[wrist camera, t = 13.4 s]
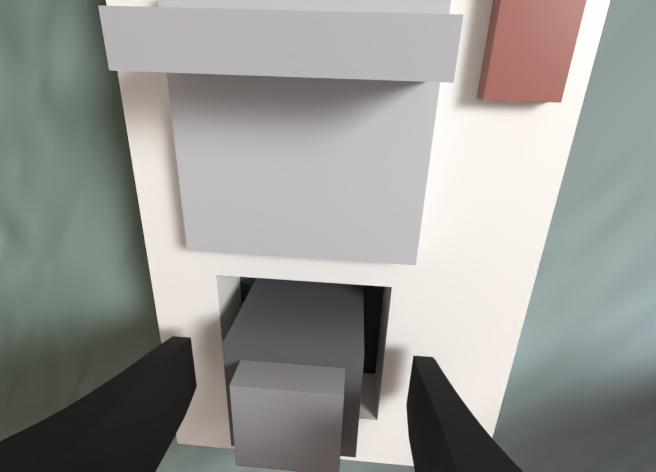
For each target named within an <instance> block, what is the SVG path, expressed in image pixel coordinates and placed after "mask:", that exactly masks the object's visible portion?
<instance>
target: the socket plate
mask: <svg viewBox="0 0 656 472" xmlns="http://www.w3.org/2000/svg"><path fill="white" fill-rule="evenodd" d="M609 3H610V0H451V5H450V12H449V14H463V22H462V29H461V36H460V42H459V49H458V56H457V63H456V70H455V77H454V83H448V82H440V87H439V95H438V102H437V110H436V117H435V125H434V132H433V140H432V147H431V155H430V162H429V170H428V177H427V185H426V192H425V200H424V207H423V215H422V222H421V230H420V237H419V245H418V252H417V260H416V265H404V264H388V263H372V262H357V261H341V260H326V259H310V258H294V257H279V256H263V255H248V254H232V253H216V252H201V251H187V244H186V235H185V227H184V218H183V210H182V201H181V193H180V184H179V176H178V167H177V159H176V150H175V142H174V133H173V125H172V116H171V108H170V99H169V91H168V82H167V74H166V73H165V72H137V71H117V72H118V78H119V84H120V91H121V97H122V103H123V109H124V115H125V122H126V128H127V134H128V140H129V146H130V152H131V159H132V165H133V171H134V177H135V183H136V189H137V196H138V202H139V208H140V214H141V220H142V227H143V233H144V239H145V245H146V251H147V257H148V264H149V270H150V276H151V282H152V288H153V294H154V301H155V307H156V313H157V319H158V325H159V332H160V338H161V344H162V343H163V342H165V341H166V340H168V339H169V338H171V337H172V336H178V337H190V338H191V343H192V351H193V359H194V367H195V375H196V383H197V387H196V390H195V393H194V395H193V398H192V401H191V403H190V406H189V408H188V411H187V413H186V416H185V418H184V420H183V422H182V423H181V425H180V427H179V429H178V431H177V433H176V437H177V443H178V444H188V445H198V446H209V447H219V448H229V449H235V446H231V438H230V427H229V416H228V405H227V394H226V383H225V372H224V361H223V350H222V343H223V341H224V340H225V338H226V336H227V334H228V332H229V330H230V328H231V326H232V324H233V322H234V320H235V318H236V316H237V314H238V312H239V311H240V309H241V307H242V300H241V284H240V277H252V278H267V279H282V280H296V281H311V282H326V283H341V284H355V285H370V286H384V291H383V301H382V311H381V321H380V331H379V341H378V351H377V361H376V371H375V374H370V373H363V377H362V389H361V401H360V413H359V425H358V437H357V449H356V457H345V456H340V459H345V460H355V461H366V462H376V463H387V464H397V465H408V466H414V464H413V458H412V453H411V447H410V442H409V435H408V423H407V409H406V403H407V396H408V389H409V383H410V376H411V369H412V362H413V355H414V356H426V357H433V358H434V359H435V360H436V361H437V363H438V364H439V366H440V368H441V369H442V371H443V372H444V374H445V375H446V377H447V378H448V380H449V382H450V383H451V384H452V386H453V387H454V389H455V390H456V392H457V393H458V395H459V396H460V398H461V399H462V400H463V402H464V403H465V404H466V406H467V407H468V408H469V410H470V411H471V412H472V414H473V415H474V416H475V418H476V419H477V420H478V422H479V423H480V424H481V425H482V427H483V428H484V429H485V430H486V431H487V433H488V434H489V435H490V436H491V438H493V434H494V430H495V426H496V423H497V419H498V415H499V412H500V408H501V404H502V400H503V397H504V393H505V389H506V386H507V382H508V378H509V374H510V371H511V367H512V363H513V360H514V356H515V352H516V348H517V345H518V341H519V337H520V334H521V330H522V326H523V322H524V319H525V315H526V311H527V308H528V304H529V300H530V296H531V293H532V289H533V285H534V282H535V278H536V274H537V270H538V267H539V263H540V259H541V256H542V252H543V248H544V244H545V241H546V237H547V233H548V230H549V226H550V222H551V219H552V215H553V211H554V207H555V204H556V200H557V196H558V193H559V189H560V185H561V181H562V178H563V174H564V170H565V167H566V163H567V159H568V155H569V152H570V148H571V144H572V141H573V137H574V133H575V129H576V126H577V122H578V118H579V115H580V111H581V107H582V103H583V100H584V96H585V92H586V89H587V85H588V81H589V77H590V74H591V70H592V66H593V63H594V59H595V55H596V51H597V48H598V44H599V40H600V37H601V33H602V29H603V25H604V22H605V18H606V14H607V11H608V7H609ZM106 4H107V6H140V7H159V5H158V0H106Z"/></svg>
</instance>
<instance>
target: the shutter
mask: <svg viewBox="0 0 656 472" xmlns="http://www.w3.org/2000/svg"><path fill="white" fill-rule="evenodd" d="M158 5H159V7H140V6H100V5H98V8H99V13H100V19H101V25H102V31H103V37H104V43H105V49H106V55H107V61H108V67H109V71H137V72H165V73H166V74H167V82H168V91H169V99H170V108H171V116H172V125H173V133H174V142H175V150H176V159H177V167H178V176H179V184H180V193H181V201H182V210H183V218H184V227H185V235H186V244H187V251H201V252H216V253H232V254H248V255H263V256H279V257H294V258H310V259H326V260H341V261H357V262H372V263H388V264H404V265H416V260H417V252H418V245H419V237H420V230H421V222H422V215H423V207H424V200H425V192H426V185H427V177H428V170H429V162H430V155H431V147H432V140H433V132H434V125H435V117H436V110H437V102H438V95H439V87H440V82H448V83H454V77H455V70H456V63H457V56H458V49H459V42H460V36H461V29H462V22H463V14H449V12H450V5H451V0H158Z"/></svg>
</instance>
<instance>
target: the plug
mask: <svg viewBox="0 0 656 472" xmlns="http://www.w3.org/2000/svg"><path fill="white" fill-rule="evenodd" d="M222 350H223V361H224V372H225V383H226V394H227V405H228V416H229V427H230V438H231V446H235V456H236V465H237V466H247V467H258V468H268V469H279V470H289V471H299V472H339V467H340V456H345V457H356V449H357V437H358V425H359V413H360V401H361V389H362V377H363V365H364V293H363V285H355V284H341V283H326V282H311V281H296V280H282V279H267V278H256V280H255V282H254V284H253V285H252V287H251V289H250V291H249V293H248V295H247V297H246V299H245V301H244V303H243V305H242V307H241V309H240V311H239V312H238V314H237V316H236V318H235V320H234V322H233V324H232V326H231V328H230V330H229V332H228V334H227V336H226V338H225V340H224V341H223V343H222Z"/></svg>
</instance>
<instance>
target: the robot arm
mask: <svg viewBox="0 0 656 472" xmlns="http://www.w3.org/2000/svg"><path fill="white" fill-rule="evenodd" d="M196 387H197V383H196V375H195V367H194V359H193V351H192V343H191V338H190V337H178V336H172V337H171V338H169V339H168V340H166V341H165V342H163V343H162V344H160V345H159V346H158V347H156V348H155V349H153V350H152V351H151V352H149V353H148V354H147V355H145V356H144V357H142V358H141V359H140V360H138V361H137V362H135V363H134V364H133V365H131V366H130V367H128V368H127V369H125V370H124V371H123V372H121V373H120V374H118V375H117V376H115V377H114V378H112V379H111V380H109V381H108V382H106V383H105V384H103V385H102V386H100V387H98V388H97V389H95V390H94V391H92V392H91V393H89V394H88V395H86V396H85V397H83V398H81V399H80V400H78V401H76V402H75V403H73V404H71V405H70V406H68V407H66V408H64V409H63V410H61V411H59V412H57V413H55V414H54V415H52V416H50V417H48V418H46V419H44V420H43V421H41V422H39V423H37V424H35V425H33V426H31V427H29V428H27V429H25V430H22V431H20V432H18V433H16V434H14V435H12V436H10V437H8V438H6V439H4V440H2V441H0V472H156V470H157V468H158V466H159V464H160V462H161V461H162V459H163V457H164V455H165V453H166V451H167V450H168V448H169V446H170V444H171V442H172V440H173V438H174V437H175V435H176V433H177V431H178V429H179V427H180V425H181V423H182V422H183V420H184V418H185V416H186V413H187V411H188V408H189V406H190V403H191V401H192V398H193V395H194V393H195V390H196ZM406 409H407V423H408V435H409V442H410V447H411V453H412V458H413V464H414V469H415V472H523V471H522V470H521V469H520V468H519V467H518V466H517V465H516V464H515V463H514V462H513V461H512V460H511V459H510V458H509V457H508V456H507V455H506V453H505V452H504V451H503V450H502V449H501V448H500V447H499V446H498V444H497V443H496V442H495V441H494V440H493V439H492V438H491V436H490V435H489V434H488V433H487V431H486V430H485V429H484V428H483V427H482V425H481V424H480V423H479V422H478V420H477V419H476V418H475V416H474V415H473V414H472V412H471V411H470V410H469V408H468V407H467V406H466V404H465V403H464V402H463V400H462V399H461V398H460V396H459V395H458V393H457V392H456V390H455V389H454V387H453V386H452V384H451V383H450V382H449V380H448V378H447V377H446V375H445V374H444V372H443V371H442V369H441V368H440V366H439V364H438V363H437V361H436V360H435V359H434V358H433V357H426V356H414V355H413V362H412V369H411V376H410V383H409V389H408V396H407V403H406Z"/></svg>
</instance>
